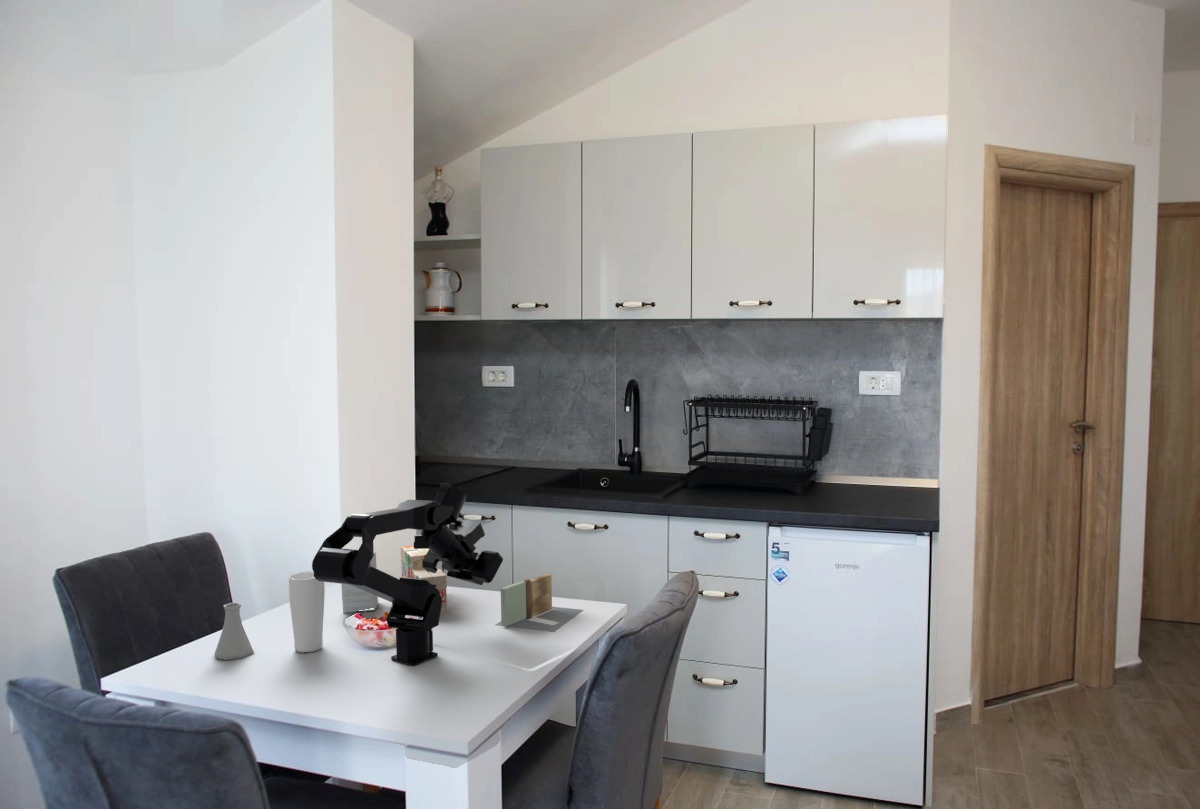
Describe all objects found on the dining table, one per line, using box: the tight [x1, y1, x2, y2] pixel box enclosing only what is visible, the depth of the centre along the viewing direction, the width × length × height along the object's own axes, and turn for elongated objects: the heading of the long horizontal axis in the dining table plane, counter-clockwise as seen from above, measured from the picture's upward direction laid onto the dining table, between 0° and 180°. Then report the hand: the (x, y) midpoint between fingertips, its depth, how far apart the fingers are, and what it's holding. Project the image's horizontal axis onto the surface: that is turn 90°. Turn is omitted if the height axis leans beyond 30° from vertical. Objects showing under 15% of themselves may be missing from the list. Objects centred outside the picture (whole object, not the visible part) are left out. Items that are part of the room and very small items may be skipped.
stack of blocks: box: [400, 545, 448, 619], centre depth 199 cm, size 21×6×12 cm, turn 24°
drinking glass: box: [288, 570, 326, 653], centre depth 169 cm, size 7×7×15 cm
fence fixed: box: [523, 573, 553, 619], centre depth 188 cm, size 9×2×8 cm, turn 144°
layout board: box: [495, 606, 584, 633], centre depth 186 cm, size 16×14×1 cm
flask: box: [214, 602, 255, 661], centre depth 167 cm, size 7×7×10 cm
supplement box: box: [341, 550, 379, 614], centre depth 197 cm, size 7×7×13 cm
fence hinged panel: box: [500, 580, 526, 627], centre depth 182 cm, size 7×1×8 cm, turn 144°
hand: (481, 583), depth 181 cm, fingers closed
